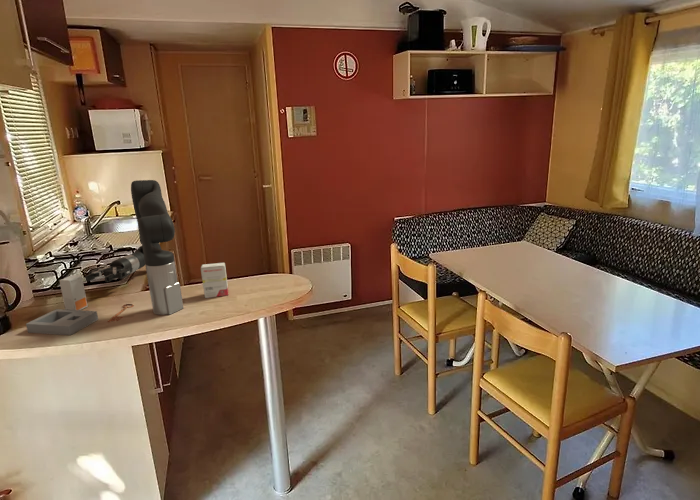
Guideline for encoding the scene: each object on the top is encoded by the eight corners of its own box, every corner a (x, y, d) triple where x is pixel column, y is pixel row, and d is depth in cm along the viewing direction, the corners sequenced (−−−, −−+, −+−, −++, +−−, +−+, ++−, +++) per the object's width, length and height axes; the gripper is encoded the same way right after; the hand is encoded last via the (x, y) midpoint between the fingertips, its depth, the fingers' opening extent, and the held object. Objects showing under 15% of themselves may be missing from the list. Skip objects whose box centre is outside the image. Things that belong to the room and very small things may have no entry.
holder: (98, 319, 155) (96, 311, 155) (70, 335, 144) (68, 326, 143) (58, 317, 159) (56, 309, 158) (28, 332, 148) (25, 323, 147)
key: (120, 323, 153) (140, 306, 168) (120, 321, 153) (140, 303, 167) (102, 322, 153) (124, 305, 168) (102, 320, 153) (124, 303, 167)
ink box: (228, 291, 177) (225, 261, 174) (228, 295, 172) (224, 265, 169) (205, 293, 175) (201, 263, 172) (204, 298, 171) (200, 267, 167)
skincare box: (76, 312, 162) (69, 280, 159) (65, 312, 163) (58, 280, 160) (88, 306, 168) (82, 274, 165) (78, 305, 169) (71, 274, 166)
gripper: (108, 256, 190) (78, 269, 175) (138, 257, 187) (110, 270, 172) (111, 274, 192) (81, 288, 177) (141, 275, 189) (114, 289, 174)
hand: (96, 279), depth 174 cm, fingers open, 8 cm apart
